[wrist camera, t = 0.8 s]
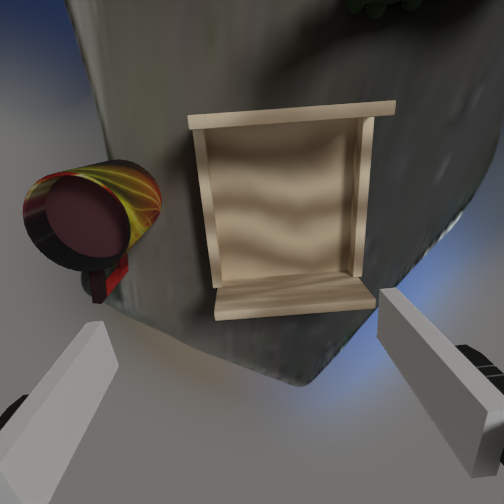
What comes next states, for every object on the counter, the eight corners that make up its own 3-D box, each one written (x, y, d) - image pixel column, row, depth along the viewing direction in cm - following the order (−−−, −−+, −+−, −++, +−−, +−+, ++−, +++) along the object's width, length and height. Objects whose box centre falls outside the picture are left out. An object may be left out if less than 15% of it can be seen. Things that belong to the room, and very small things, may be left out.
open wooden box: (194, 119, 36) (180, 116, 27) (364, 106, 36) (402, 99, 28) (215, 285, 44) (210, 321, 36) (353, 274, 44) (379, 307, 36)
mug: (126, 269, 43) (86, 317, 32) (70, 176, 38) (-1, 195, 27) (187, 245, 42) (169, 287, 31) (139, 147, 37) (95, 154, 26)
